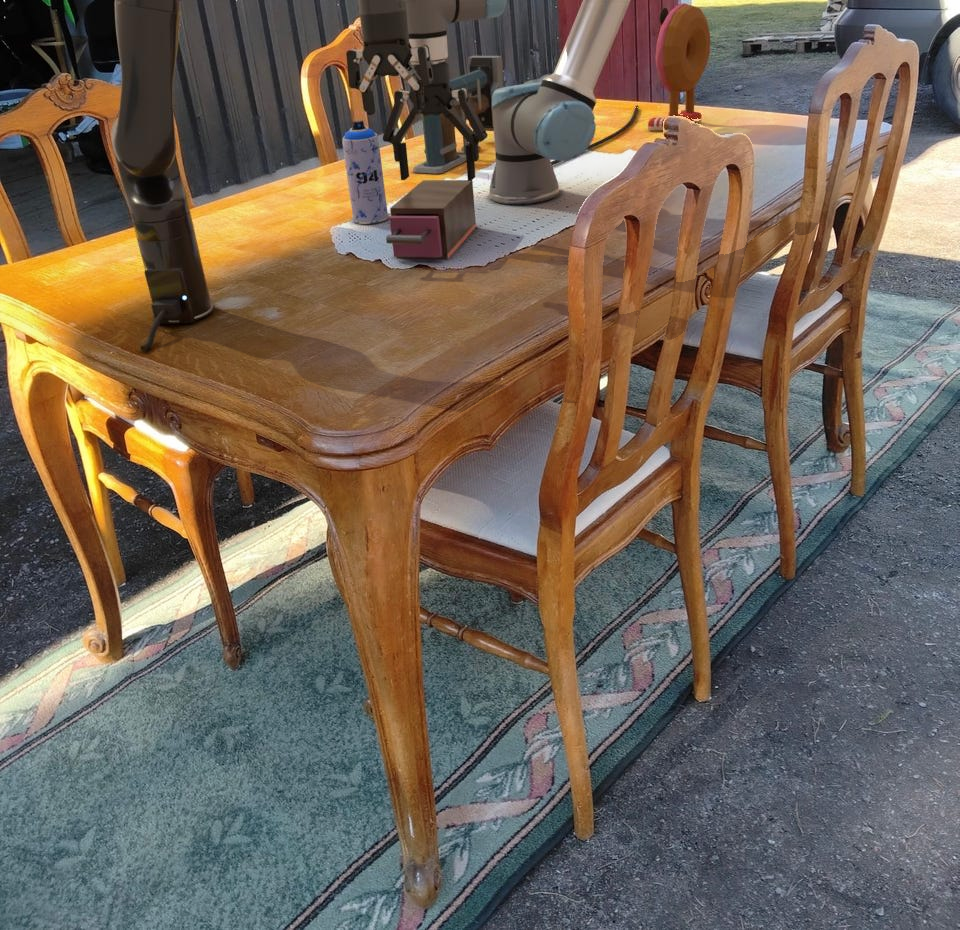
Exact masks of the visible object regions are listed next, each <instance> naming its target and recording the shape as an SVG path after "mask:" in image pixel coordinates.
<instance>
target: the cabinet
mask: <svg viewBox="0 0 960 930" xmlns="http://www.w3.org/2000/svg"><path fill="white" fill-rule="evenodd" d="M474 197H475V195H474V183H473V180H472V181H468V179H467V180H466V179H433V180H431V179H423V180H422V181H421V182H419V183H418V184H417V185H415V186H414V187H413V188H412V189H411V190H409V191H408V192H407V193H406V194H405V195H403V197H402V198H400V199H399V200H398V201H397V202H395V204H393V205H392V206H391V207H390V208H389V209H390V210H389V211H390V217H391V216H400V214H438V216H439V225H440V235H441V245H442V256H441V257H395V258H396V259H399V258H400V259H401V258H402V259H442V260H443V259H445V260H447V259H448V260H449V259H450V257H451V256H452V255H453V254H454V253H455V252H456V250H458V248H459V247H460V246H461V245H462V244H463V243H464V242H465V240H466V239H467V238H468V237H469V236H470V235H471V234H472V233H473V232H474V230H475V229H476V228H477V222H476V209H475V207H476V206H475V198H474Z"/></svg>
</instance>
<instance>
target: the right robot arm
mask: <svg viewBox="0 0 960 930" xmlns="http://www.w3.org/2000/svg"><path fill="white" fill-rule="evenodd" d="M630 2H631V0H582V2H581V5H580V7H579V9H578V12H577V15H576V17H575V19H574V21H573V24H572V27H571V29H570V31H569V35H568V36H567V39H566V42H565V44H564V46H563V49H562V51H561V53H560V56H559V59H558V60H557V61H558V62H557V64H556V66H555V68H554V71H553V73H552V74H549V75H548V76H545V77H544V78H543V79H542V81H541V82H531V83H523V84H515V85H509V86H503V88H499V89H497V90H495V91H494V92H493V95H492V112H493V126H494V131H493V137H494V138H493V140H494V152H495V163H494V168H493V172H492V176H491V180H490V176H489V174H487V177H488V180H490V185H489V198H490V200H491V201H493V202H495V203H499V204H504V205H531V204H538V203H543V202H546V201H550V200H552V199H554V198H556V197H557V196H559V194H560V185H559V181H558V179H557V175H556V173H555V170H554V167H553V166H555V165H557V164H559V163H562V162H565V161H566V162H568V161H572V160H574V159H577V158H578V157H580V156H581V155H582V154H584V152H586V151H588V150H590V149H594V148H595V147H598V146H599V145H601V144H603V143H606V142H608V141H610V140H612V139H614V138H616V137H617V136H619V135H620V134H622V133H623V132H625V131H626V130H627V129H628V128H629V127H630V126H631V125H632V124H633V122H634V121H635V119H636V117H637V114H638V111H639V107H640V106H639V105H638V104H637V105H635V107H636V108H635V107H634V111H633V113H632V115H631V118H630V120H629V121H628V122H627V123H626V124H625V125H624V126H622V127H621V128H620V129H618V130H617V131H615V132H614V133H612V134H610V135H608V136H606V137H604V138H602V139H600V140H598V141H596V142H593V140H594V138H595V135H596V126H597V124H596V122H595V119H596V117H595V115H594V112H593V111H594V110H595V107H596V105H597V98H596V96H595V93H594V89H595V87H596V85H597V82H598V80H599V77H600V75H601V73H602V71H603V68H604V65H605V63H606V61H607V59H608V56H609V53H610V52H611V51H610V50H611V49H612V46H613V44H614V41H615V39H616V37H617V34H618V32H619V29H620V27H621V24H622V22H623V19H624V17H625V15H626V13H627V10H628V8H629V5H630ZM405 4H406V14H407V24H408V33H409V43H410V45H411V47H412V48H415V47H421V46H423V45H427V46H428V47H429V52H430V58H431V65H432V72H433V79H434V80H433V82H432V83H431V84H429V85H428V86H425V87H424V89H423V91H424V102H425V107H424V109H422V112H421V113H420V114H415V113H414V106H413V107H412V108H411V110H410V112H409V114H408V115H407V117H406V119H405V120H404V122H403V123H402V124H401V126H400V127H399V129H398V130H397V132H396V129H397V126H398V124H399V120H400V117H401V114H402V112H403V109H404V106H405V103H407V102H408V99H409V101H410V102H411V104H413V96H412V91H413V90H414V89H413V88H412V87H411V86H410V85H409V90H405V89H403V88H400V89H398V90H396V91H394V95H393V106H392V109H391V112H390V115H389V118H388V121H387V122H386V123H387V124H386V126H385V129H384V132H383V136H382V141H383V142H384V143H388V144H389V143H390V144H391V145H392V150H393V159H394V161H395V162H396V163H398V164H399V175H400V180H401V181H406V180H407V179H408V178H409V177H410V170H409V160H408V159H409V158H408V151H407V143H406V142H402V141H403V139H404V138H405V137H406V135H407V134H408V133H409V131H410V130H411V128H412V126H413V125H414V123H415V122H416V120H417V119H418V117H419V116H420V115H422V114H423V116H427V115H430V114H432V115H440V114H443V115H444V116H445V117H446V118H448V119H449V120H450V121H451V123H452V124H453V125H454V126H455V129H456V130H457V131H458V132H459V133H460V135H461V136H462V138H463V137H464V138H465V139H466V140H467V141H468V144H467V145H466V146H465V148H466V161H465V162H466V176H467V180H468V181H472V182H473V180H474V179H475V178H476V166H475V165H476V164H475V163H476V162H478V161H479V158H480V153H479V152H480V150H478V146H479V143H481V142H483V141H485V140H486V139H487V138H488V133H487V131H485V129H484V127H483V125H482V123H481V121H480V119H479V117H478V116H477V114H476V112H475V110H474V108H473V106H472V104H471V102H470V100H469V95H468V90H467V88H462V89H460V90H452V89H451V86H450V80H451V76H450V75H451V73H450V63H449V62H448V61H447V59H448V58H449V48H448V34H447V24H453V23H460V22H470V21H478V20H479V21H480V20H485V21H487V20H488V19H492V18H493V19H494V18H498V17H500V16H501V15H502V14H503V13H504V11H505V9H506V5H507V0H405ZM409 63H410V64H411V65H412V67H413V68H414V69H415V71H416V73H417V75H418V76H419V77H420V79H422V78H421V72H420V65H419V61H417V60H416V58H415V56H414V55H412V57H411V59H410V61H409ZM453 97H454V98H455V99H456V100H455V101H456V103H458V102H459V103H460V106H461V108H462V110H463V112H464V114H465V115H466V117H467V119H466V120H467V121H468V123H467V122H466V123H465V121H464V120H463V119H462V118H461V117H460V116H459V114H458V113H457V112H456V110H455V108H454V107H453V106H452V105H453V104H452V103H451V102H452V101H453V100H452V98H453ZM451 100H452V101H451ZM637 107H638V108H637ZM469 123H470V125H471V127H472V128H471V127H470V125H469ZM473 131H474V132H475V133H474V132H473ZM395 132H396V133H395ZM592 142H593V143H592Z"/></svg>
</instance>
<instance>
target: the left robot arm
mask: <svg viewBox="0 0 960 930" xmlns="http://www.w3.org/2000/svg"><path fill="white" fill-rule="evenodd" d="M357 9H358V11H359V12H358V13H359V21H360V27H361V36H362V41H363V48H362V49H358V48H356V47H354V48H350V49H349V50H347V51H346V53H345V55H346V66H347V67H346V68H347V79H348V87H349V88H350V89H353V90H354V89H355V90H358V91H359V92H360V94H361V101H362V108H363V111H364V112H365V113H366V115H367V116H374V115H375V114H376V105H375V96H374V90H373V89H371V88H372V86H373V85H374V83H375V81H376V79H377V78H378V77H379V78H382V77H386V76H389V77H390V76H391V77H398V76H400V77H402V79H403V80H404V81H406V82H407V83H408V84H409V87H410V86H411V87H412V88H413V89H414V90H413V91H412V96H413V103H412V105H413V107H414V113H415V114H420V115H421V112H422V109H424V107H425V102H424V91H423V89H424V87H425V86H428V85H429V84H431V83H432V82H433V80H434V79H433V72H432V65H431V58H430V52H429V47H428V46H427V45H423V46H421V47H415V48H412V47H411V45H410V43H409V33H408V24H407V14H406V4H405V0H357ZM181 17H182V0H114V23H115V32H116V42H117V49H118V56H119V64H120V72H121V73H120V74H121V79H120V80H121V82H120V83H121V85H120V86H121V87H120V97H119V98H120V100H119V108H118V109H119V111H118V117H117V118H116V119H115V120H114V122H113V125H112V126H111V130H110V142H111V148H112V150H113V154H114V159H115V162H116V165H117V169H118V174H119V177H120V181H121V185H122V189H123V192H124V196H125V200H126V204H127V207H128V211H129V214H130V218H131V221H132V225H133V229H134V233H135V237H136V240H137V245H138V248H139V253H140V256H141V260H142V264H143V267H144V271H143V272H144V276H145V280H146V283H147V284H146V285H147V288H148V293H149V297H150V300H151V305H150V306H151V309H152V310H151V311H152V314H153V317H154V321H153V323H152V324H151V327H150V330H149V333H148V336H147V340H145V342H144V343H143V344H142V345H141V346H140V350H141V351H142V352H145V351H146V350H148V349H150V348H151V346H152V345H153V342H154V340H155V335H156V332H157V330H158V328H159V325H188V324H189V325H192V324H194V323H195V322H196V321H199V320H201V319H203V318H206V317H207V316H209V315H211V314H212V312H213V311H214V307H213V303H212V301H211V296H210V292H209V287H208V284H207V279H206V274H205V270H204V265H203V262H202V261H203V260H202V257H201V252H200V248H199V244H198V239H197V235H196V231H195V225H194V221H193V218H192V213H191V210H190V205H189V204H190V203H189V199H188V196H187V193H186V189H185V185H184V182H183V179H182V175H181V170H180V165H179V163H178V158H177V154H176V153H177V140H176V129H175V116H174V114H175V113H174V112H175V111H174V78H175V72H176V64H177V58H178V57H177V56H178V51H179V50H178V48H179V40H180V39H179V38H180V29H181V28H180V27H181V19H182V18H181ZM412 55H414V56H415V58H416V60H417V61H419V65H420V72H421V78H422V79H420V77H419V76H418V75H417V73H416V71H415V69H414V68H413V67H412V65H411V62H409V61H410V59H411V57H412ZM363 59H364V61H365V62H366V64H367V65H368V67H367V70H366V72H365V73H364V76H363V79H361V67H360V65H361V64H360V63H362V61H363Z"/></svg>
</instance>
